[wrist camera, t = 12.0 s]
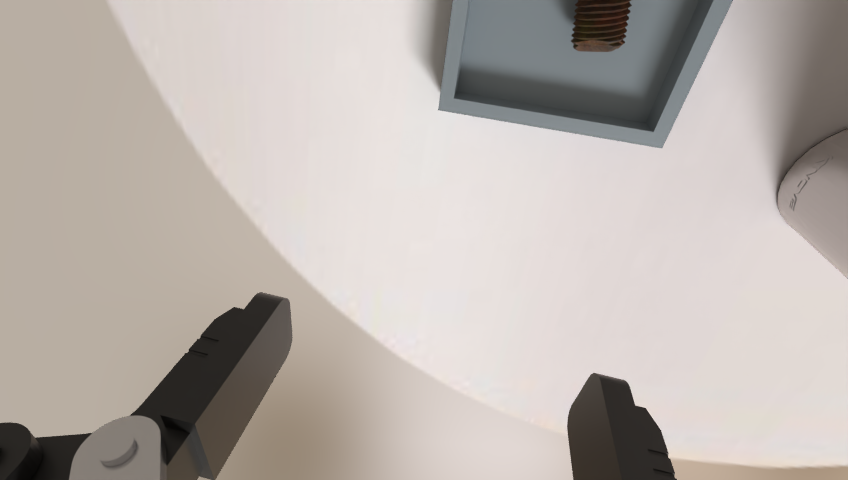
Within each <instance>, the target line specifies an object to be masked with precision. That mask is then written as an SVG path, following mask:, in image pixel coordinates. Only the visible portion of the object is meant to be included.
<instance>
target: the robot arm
mask: <svg viewBox="0 0 848 480" xmlns="http://www.w3.org/2000/svg"><path fill="white" fill-rule="evenodd" d="M778 208H779V211H780V214H781V216H782V217H783V218H784V220H785V221H786V222H787V223H788V224H789V225H790V226H791V227H792V228H793V229H794V230H795V231H796V232H797V233H799V234H800V235H801V236H802V237H803V238H804V239H805V240H806V241H807V242H808V243H809V244H811V245H812V246H813V247H814V248H815V249H816V250H817V251H818V252H819V253H820V254H821V255H822V256H823V257H824V258H825V259H827V260H828V261H829V262H830V263H831V264H832V265H833V266H834V267H835V268H836V269H838V270H839V271H840V272H841V273H842V274H843V275H844V276H845V277H846V278H847V279H848V129H847V130H844V131H841V132H839V133H837V134H835V135H833V136H831V137H829V138H827V139H825V140H823V141H822V142H820V143H819V144H817V145H816V146H814V147H813V148H811V149H810V150H809V151H808V152H806V153H805V154H804V155H803V156H802V157H801V158H800V159H798V160H797V161H796V163H795V164H794V165H793V166H792V167H791V169H790V170H789V171H788V172H787V174H786V176H785V178H784V179H783V181H782V183H781V186H780V189H779V193H778ZM291 343H292V325H291V312H290V302H289V300H288V299H287V298H283V297H279V296H274V295H270V294H266V293H262V292H260V293H258V294H256V295H255V296H254V297H253V299H252V300H251V301H250V302H249V304H248V305H247V306H246V307H245V309H240V308H235V307H234V308H232V309H231V310H229V311H227V312H226V313H224V314H222V315H221V316H219V317H218V318H216V319H215V320H214V321H213V322H212V323H211V324H210V325H209V327H208V328H207V329H206V330H205V331H204V332H203V334H202V335H201V338H200V339H197V341H196V342H195V343H194V344H193V345H192V347H191V348H190V349H189V352H188V353H185V355H184V356H183V357H182V358H181V359H180V361H179V362H178V363H177V364H176V365H175V366H174V367H173V369H172V370H171V371H170V372H169V373H168V374H167V376H166V377H165V378H164V379H163V380H162V381H161V383H160V384H159V385H158V386H157V387H156V388H155V390H154V391H153V392H152V393H151V394H150V396H149V397H148V398H147V399H146V400H145V401H144V402H143V404H142V405H141V406H140V407H139V408H138V409H137V410H136V411H135V412H133V413H132V414H131V415H130V416H127V417H122V418H119V419H116V420H113V421H112V422H109V423H107V424H105V425H104V426H102V427H100V428H99V429H97V430H96V431H95V432H93V433H88V434H80V435H65V436H52V437H40V438H35V437H34V436H33V435H32V434H31V433H30V431H29V430H28V429H27V428H26V427H25V426H23V425H21V424H18V423H0V480H197V479H198V477H199V476H200V477H204V478H207V479H211V480H215V479H216V478H217V476H218V474H219V472H220V471H221V469H222V467H223V466H224V464H225V462H226V460H227V459H228V457H229V455H230V454H231V452H232V450H233V449H234V447H235V445H236V443H237V442H238V440H239V438H240V437H241V435H242V433H243V431H244V430H245V428H246V426H247V425H248V423H249V421H250V419H251V418H252V416H253V414H254V413H255V411H256V409H257V407H258V406H259V404H260V402H261V401H262V399H263V397H264V395H265V394H266V392H267V390H268V389H269V387H270V385H271V383H272V382H273V380H274V378H275V377H276V375H277V373H278V371H279V370H280V368H281V367H282V365H283V363H284V361H285V360H286V358H287V355H288V353H289V351H290V347H291ZM567 429H568V438H569V446H570V455H571V463H572V471H573V479H574V480H677V479H675V477H674V475H675V472H674V469H673V466H672V463H671V460H670V459H669V458H668V451H667V448H666V445H665V442H664V439H663V436H662V432H661V430H660V428H659V427H658V426H657V424H656V423H655V421H654V420H653V418H652V417H651V415H650V414H649V412H648V411H647V410H646V408H643V407H639V406H635V404H634V400H633V397H632V393H631V390H630V387H629V385H628V383H627V382H626V381H625V380H621V379H617V378H613V377H609V376H605V375H601V374H596V373H593V374H591V375H590V377H589V378H588V380H587V381H586V383H585V385H584V386H583V388H582V390H581V391H580V393H579V394H578V396H577V398H576V399H575V401H574V403H573V404H572V406H571V408H570V411H569V415H568V424H567Z"/></svg>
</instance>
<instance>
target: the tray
mask: <svg viewBox="0 0 848 480" xmlns="http://www.w3.org/2000/svg"><path fill="white" fill-rule="evenodd" d="M732 1H733V0H631V1H630V4H631V5H632V6H631V7H629V8H628V9H629V10H630V11H631V12H630V13H629V14H628V15H627V16H628V17H629V20H627V21H626V22H627V24H628V26H626V27H625V28H626V29H627V32H626V33H624V34H625V35H626V38H624V39H623V40H624V41H625V43H624V44H623V45H622V46H621V47H619V48H618V49H615V50H614V51H611V52H583V51H577V50H575V49H574V48H573V43H572V42H571V40H572V39H573V37H572V36H571V35H572V34H573V33H574V31H573V30H572V29H573V28H574V27H575V25H574V24H573V23H574V22H575V21H576V19H575V18H574V16H575V15H576V14H577V13H576V12H575V10H576V9H577V8H578V7H577V6H575V4H576V3H577V2H578V0H453V3H452V10H451V18H450V25H449V33H448V40H447V48H446V56H445V63H444V71H443V78H442V86H441V93H440V101H439V109H438V110H441V111H447V112H452V113H458V114H464V115H470V116H476V117H482V118H488V119H493V120H499V121H505V122H511V123H517V124H523V125H528V126H534V127H540V128H546V129H552V130H558V131H564V132H569V133H575V134H581V135H587V136H593V137H599V138H604V139H610V140H616V141H622V142H628V143H634V144H640V145H645V146H651V147H657V148H662V147H663V145H664V143H665V141H666V139H667V137H668V135H669V133H670V131H671V129H672V126H673V124H674V122H675V120H676V118H677V116H678V114H679V112H680V110H681V108H682V106H683V103H684V101H685V99H686V97H687V95H688V93H689V91H690V89H691V87H692V85H693V83H694V81H695V78H696V76H697V74H698V72H699V70H700V68H701V66H702V64H703V62H704V60H705V58H706V55H707V53H708V51H709V49H710V47H711V45H712V43H713V41H714V39H715V37H716V35H717V32H718V30H719V28H720V26H721V24H722V22H723V20H724V18H725V16H726V14H727V12H728V10H729V7H730V5H731V3H732Z"/></svg>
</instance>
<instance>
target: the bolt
mask: <svg viewBox="0 0 848 480" xmlns="http://www.w3.org/2000/svg"><path fill="white" fill-rule="evenodd" d="M630 1H631V0H578V2H577V3H576V4H575V6H577V7H578V8H577V9H576V10H575V12H576V13H577V14H576V15H575V16H574V18H575V19H576V21H575V22H574V23H573V24H574V25H575V27H574V28H573V29H572V30H573V31H574V33H573V34H572V35H571V36H572V37H573V39H572V40H571V42H572V43H573V48H574V49H575V50H577V51H583V52H611V51H614V50H615V49H618V48H619V47H621V46H622V45H623V44H624V43H625V41H624V40H623V39H624V38H626V35H625V34H624V33H626V32H627V29H626V28H625V27H626V26H628V24H627V22H626V21H627V20H629V17H628V16H627V15H628V14H629V13H630V12H631V11H630V10H629V9H628V8H629V7H631V6H632V5H631V4H630Z"/></svg>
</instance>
